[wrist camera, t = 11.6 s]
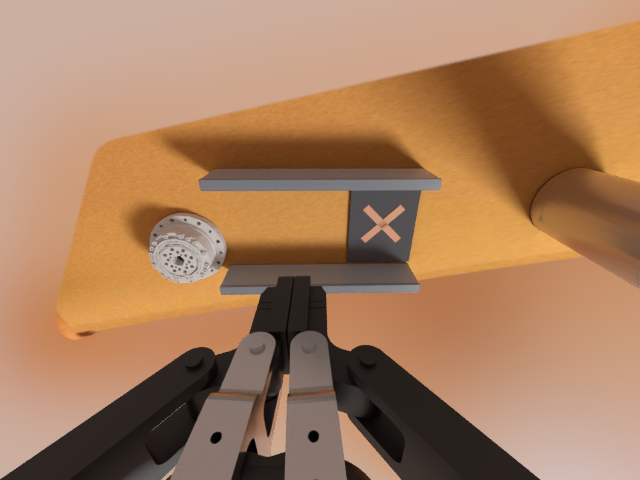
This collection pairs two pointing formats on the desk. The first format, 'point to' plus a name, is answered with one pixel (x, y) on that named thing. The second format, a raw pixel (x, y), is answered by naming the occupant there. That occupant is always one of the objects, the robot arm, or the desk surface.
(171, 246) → the mechanical component
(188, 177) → the desk surface
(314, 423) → the robot arm
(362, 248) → the pad
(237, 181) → the plastic channel
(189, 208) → the desk surface
